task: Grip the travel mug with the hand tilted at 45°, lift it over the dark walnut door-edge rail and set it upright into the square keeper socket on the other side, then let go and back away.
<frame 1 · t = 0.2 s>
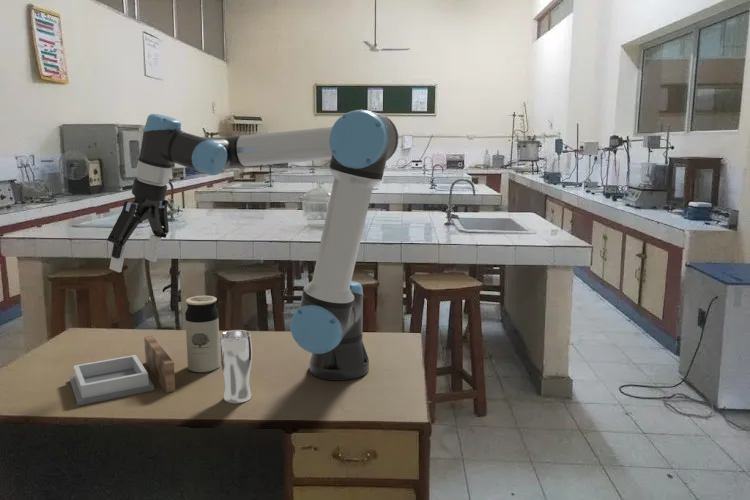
hand: (133, 265, 143), 27 cm above the table, tool tilted 15°, fingers open, 13 cm apart
keeper socket: (111, 385, 139), on the table
beer glass: (237, 398, 133), on the table
door edge rail: (159, 375, 145), on the table
travel mug: (204, 368, 151), on the table
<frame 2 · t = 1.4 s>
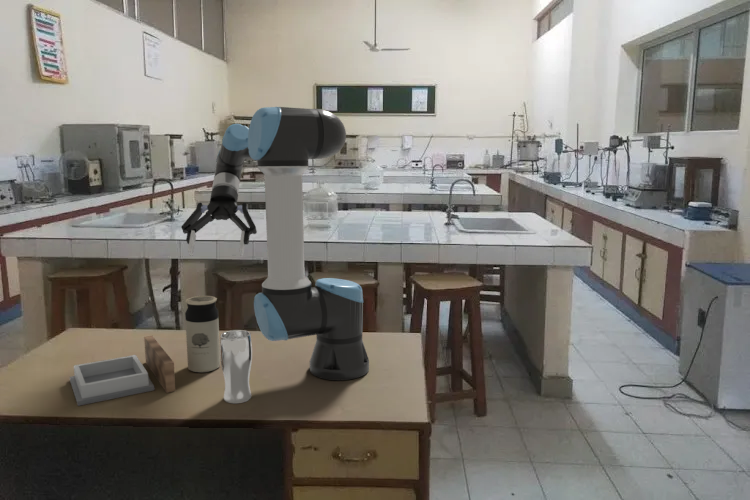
hand: (215, 253, 159), 27 cm above the table, tool tilted 45°, fingers open, 13 cm apart
nothing on the table moved.
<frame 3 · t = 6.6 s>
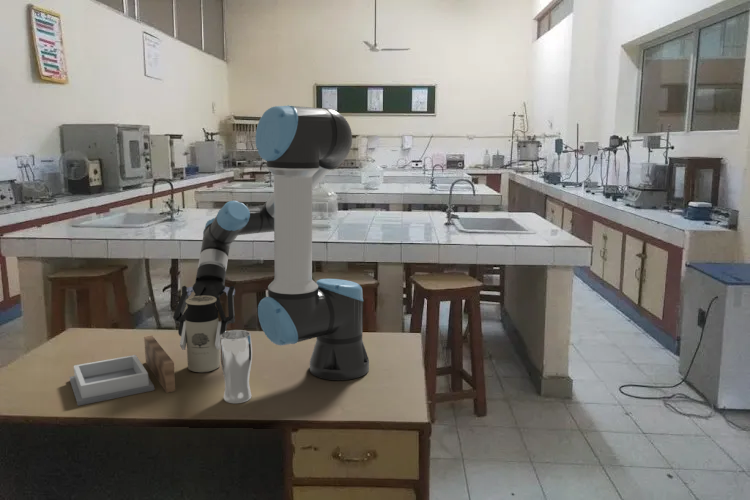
hand: (199, 347, 146), 7 cm above the table, tool tilted 45°, fingers closed on travel mug, 8 cm apart
travel mug: (204, 368, 151), on the table, touching gripper
everything else where it was.
when the fingers open (9 cm above the table, at t = 13.3 s): travel mug drops 1 cm, resting on keeper socket.
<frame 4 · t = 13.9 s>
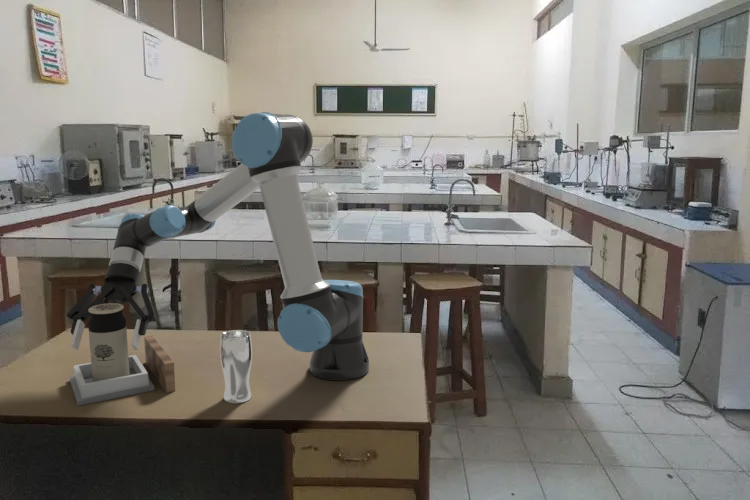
hand: (104, 347, 135), 10 cm above the table, tool tilted 45°, fingers open, 13 cm apart
travel mug: (111, 381, 139), point 1 cm above the table, touching keeper socket
everything else where it was.
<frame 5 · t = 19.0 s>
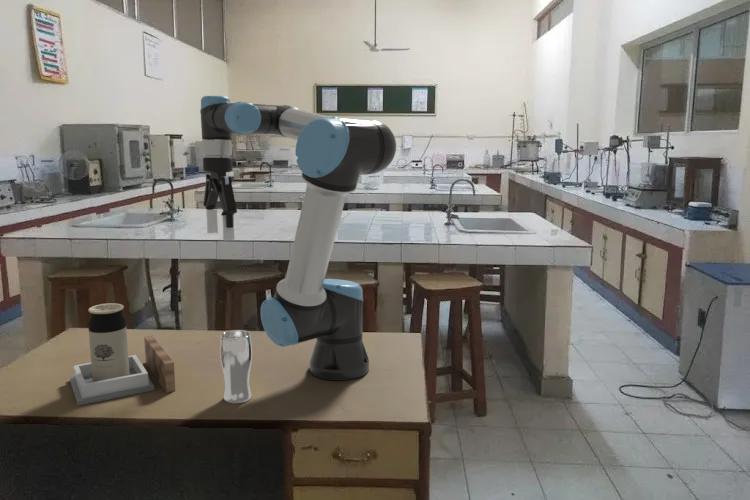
hand: (220, 236, 159), 32 cm above the table, tool pointing down, fingers open, 13 cm apart
nothing on the table moved.
at the end: travel mug 0.1 cm off-centre on the keeper socket, point 0.8 cm above the keeper socket's base; travel mug tilted 0°; the gripper is holding nothing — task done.
